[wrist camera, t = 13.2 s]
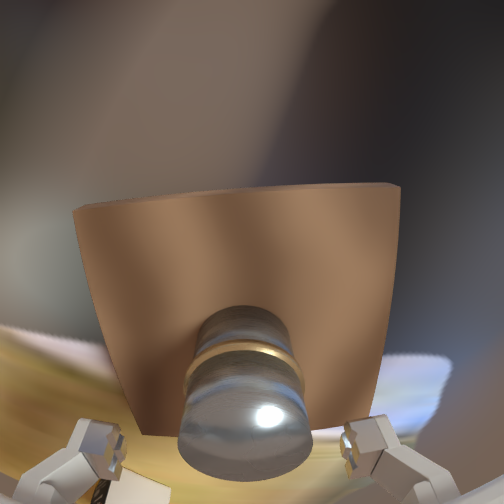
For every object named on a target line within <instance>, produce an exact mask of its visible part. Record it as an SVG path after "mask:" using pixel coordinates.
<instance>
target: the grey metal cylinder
mask: <svg viewBox="0 0 504 504" xmlns="http://www.w3.org/2000/svg"><path fill="white" fill-rule="evenodd" d="M183 392H184V396H185V403H184V408H183V414H182V419H181V425H180V431H179V436H178V442H177V443H178V450H179V452H180V454H181V456H182V458H183V459H184V460H185V461H186V462H187V463H188V464H189V465H190V466H192V467H193V468H194V469H196V470H198V471H200V472H202V473H204V474H206V475H209V476H212V477H215V478H219V479H223V480H229V481H240V482H250V481H260V480H266V479H271V478H275V477H278V476H281V475H283V474H286V473H288V472H290V471H292V470H293V469H295V468H297V467H298V466H299V465H301V464H302V463H303V462H304V461H305V460H306V459H307V457H308V456H309V455H310V453H311V450H312V447H313V439H312V434H311V430H310V425H309V420H308V416H307V411H306V406H305V402H304V394H305V381H304V377H303V373H302V369H301V367H300V365H299V363H298V362H297V361H296V359H295V357H294V353H293V348H292V344H291V339H290V335H289V332H288V329H287V327H286V326H285V324H284V323H283V322H282V320H281V319H280V318H279V317H277V316H276V315H275V314H273V313H272V312H270V311H268V310H266V309H263V308H260V307H256V306H250V305H237V306H231V307H227V308H224V309H221V310H219V311H217V312H215V313H214V314H213V315H211V316H210V317H209V318H208V319H207V320H206V321H205V322H204V323H203V324H202V326H201V328H200V330H199V332H198V336H197V341H196V346H195V351H194V356H193V360H192V361H191V362H190V364H189V366H188V368H187V370H186V373H185V378H184V383H183Z"/></svg>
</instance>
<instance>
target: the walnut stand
mask: <svg viewBox="0 0 504 504" xmlns="http://www.w3.org/2000/svg"><path fill="white" fill-rule="evenodd" d="M400 191H401V188H400V187H398V186H396V185H393V184H390V183H336V184H308V185H286V186H267V187H251V188H237V189H223V190H211V191H199V192H188V193H178V194H168V195H159V196H150V197H141V198H132V199H125V200H116V201H110V202H101V203H95V204H87V205H84V206H82V207H80V208H78V209H76V210H74V211H73V218H74V223H75V228H76V233H77V238H78V243H79V248H80V252H81V257H82V261H83V265H84V269H85V273H86V278H87V281H88V285H89V289H90V293H91V297H92V300H93V304H94V307H95V311H96V314H97V318H98V321H99V324H100V327H101V330H102V333H103V336H104V339H105V343H106V346H107V349H108V352H109V354H110V357H111V360H112V363H113V366H114V368H115V371H116V374H117V376H118V379H119V382H120V384H121V387H122V389H123V392H124V394H125V397H126V399H127V402H128V404H129V406H130V409H131V411H132V413H133V416H134V418H135V420H136V422H137V425H138V427H139V429H140V431H141V433H142V435H152V436H170V437H178V436H179V431H180V425H181V419H182V414H183V408H184V403H185V396H184V392H183V383H184V378H185V373H186V370H187V368H188V366H189V364H190V362H191V361H192V360H193V356H194V351H195V346H196V341H197V336H198V332H199V330H200V328H201V326H202V324H203V323H204V322H205V321H206V320H207V319H208V318H209V317H210V316H211V315H213V314H214V313H215V312H217V311H219V310H221V309H224V308H227V307H231V306H237V305H250V306H256V307H260V308H263V309H266V310H268V311H270V312H272V313H273V314H275V315H276V316H277V317H279V318H280V319H281V320H282V322H283V323H284V324H285V326H286V327H287V329H288V332H289V335H290V339H291V344H292V348H293V353H294V357H295V359H296V361H297V362H298V363H299V365H300V367H301V369H302V373H303V377H304V381H305V394H304V402H305V406H306V411H307V416H308V420H309V425H310V430H319V429H326V428H332V427H338V426H344V424H345V422H346V421H348V420H354V419H360V418H365V417H369V413H370V409H371V405H372V401H373V397H374V393H375V388H376V384H377V379H378V375H379V370H380V365H381V360H382V355H383V350H384V344H385V339H386V333H387V327H388V321H389V314H390V307H391V300H392V293H393V285H394V284H393V283H394V276H395V267H396V257H397V246H398V245H397V244H398V232H399V216H400V193H401V192H400Z"/></svg>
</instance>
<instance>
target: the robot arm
mask: <svg viewBox="0 0 504 504" xmlns="http://www.w3.org/2000/svg"><path fill="white" fill-rule="evenodd" d="M344 430H345V432H344V433H342V434H341V438H340V450H341V454H342V457H343V458H345V459H346V460H347V462H346V464H345V468H346V472H347V475H348V478H349V479H355V478H361V477H366V476H370V477H371V478H372V479H374V480H375V481H376V482H377V483H378V484H379V485H381V486H382V487H383V488H384V489H385V490H386V491H388V492H389V493H390V494H391V495H392V496H393V497H395V498H396V499H397V500H398V501H400V502H401V503H400V504H504V474H503V475H502V476H500V477H498V478H496V479H494V480H492V481H491V482H489V483H487V484H485V485H483V486H481V487H479V488H477V489H475V490H473V491H470V492H469V493H466V494H464V495H462V496H461V494H460V492H459V490H458V488H457V486H456V484H455V482H454V480H453V478H452V476H451V474H450V473H449V471H447V470H446V469H444V468H442V467H441V466H439V465H437V464H435V463H434V462H432V461H430V460H429V459H427V458H425V457H424V456H422V455H420V454H419V453H417V452H416V451H414V450H412V449H411V448H409V447H407V446H406V445H401V444H400V442H399V440H398V438H397V436H396V434H395V432H394V429H393V427H392V425H391V423H390V421H389V419H388V417H387V415H385V414H382V415H377V416H372V417H371V416H370V417H365V418H360V419H354V420H348V421H346V422H345V424H344ZM120 431H121V429H120V427H119V425H118V424H115V423H109V422H103V421H97V420H92V419H86V418H80V419H79V420H78V421H77V424H76V426H75V428H74V430H73V433H72V435H71V437H70V440H69V442H68V444H67V447H66V448H62V449H60V450H59V451H57V452H56V453H54V454H53V455H51V456H50V457H48V458H47V459H45V460H44V461H42V462H41V463H39V464H38V465H36V466H34V467H33V468H31V469H30V470H28V471H27V472H25V473H24V474H22V476H21V478H20V480H19V483H18V485H17V487H16V490H15V492H14V494H13V497H12V498H10V497H7V496H5V495H3V494H1V493H0V504H74V503H75V502H76V501H77V500H78V499H79V498H80V497H81V496H82V495H83V494H84V493H85V492H86V491H87V490H89V489H90V488H91V487H92V486H93V485H94V484H95V483H96V482H97V481H98V480H99V478H100V479H106V480H112V481H120V477H121V473H122V469H123V468H122V466H121V464H120V463H121V462H122V461H123V460H125V458H126V454H127V444H126V440H125V438H124V436H122V435H121V434H120Z"/></svg>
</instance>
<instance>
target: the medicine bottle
mask: <svg viewBox="0 0 504 504" xmlns="http://www.w3.org/2000/svg"><path fill="white" fill-rule="evenodd" d="M122 468H123V469H122V473H121V477H120V481H112V480H106V479H99V480H98V481H97V484H96V488H95V491H94V494H93V497H92V500H91V504H169V502H170V495H171V488H170V487H168V486H166V485H163V484H161V483H158V482H156V481H153V480H151V479H149V478H146V477H144V476H142V475H139V474H137V473H135V472H133V471H131V470H128V469H126V468H124V467H122Z"/></svg>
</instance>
